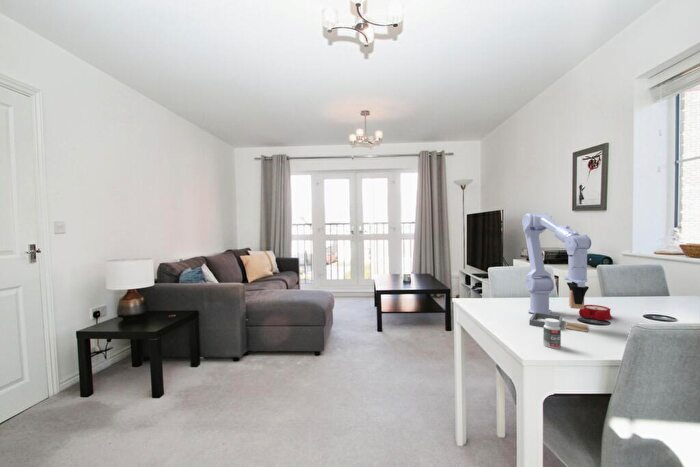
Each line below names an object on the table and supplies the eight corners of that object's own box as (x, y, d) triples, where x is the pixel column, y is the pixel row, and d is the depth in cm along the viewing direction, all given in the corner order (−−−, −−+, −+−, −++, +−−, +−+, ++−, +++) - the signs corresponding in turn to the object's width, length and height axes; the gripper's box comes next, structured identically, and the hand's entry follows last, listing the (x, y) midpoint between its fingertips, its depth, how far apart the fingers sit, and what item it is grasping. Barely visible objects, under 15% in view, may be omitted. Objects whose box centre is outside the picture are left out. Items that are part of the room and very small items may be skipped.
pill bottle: (552, 349, 101) (552, 322, 101) (539, 343, 106) (540, 318, 105) (564, 347, 102) (564, 321, 102) (551, 342, 107) (552, 317, 107)
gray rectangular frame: (534, 316, 136) (534, 312, 136) (562, 320, 130) (562, 315, 130) (529, 324, 126) (529, 319, 125) (560, 329, 120) (560, 324, 120)
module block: (569, 305, 125) (569, 290, 124) (581, 306, 123) (581, 291, 123) (571, 308, 121) (571, 292, 121) (584, 309, 119) (584, 293, 119)
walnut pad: (567, 323, 128) (567, 322, 128) (587, 325, 124) (587, 324, 124) (566, 329, 120) (566, 327, 120) (587, 332, 117) (587, 331, 117)
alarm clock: (615, 308, 137) (607, 306, 127) (614, 323, 136) (606, 322, 126) (585, 303, 145) (576, 301, 135) (584, 317, 144) (574, 316, 134)
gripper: (561, 264, 130) (561, 297, 130) (568, 268, 117) (568, 306, 117) (582, 265, 127) (582, 299, 127) (592, 269, 114) (591, 308, 114)
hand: (577, 302), depth 122 cm, fingers closed on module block, 4 cm apart
